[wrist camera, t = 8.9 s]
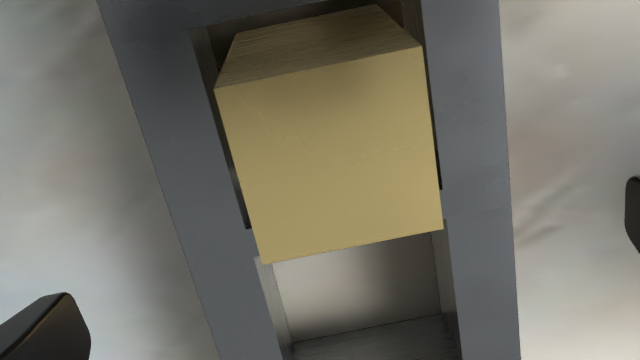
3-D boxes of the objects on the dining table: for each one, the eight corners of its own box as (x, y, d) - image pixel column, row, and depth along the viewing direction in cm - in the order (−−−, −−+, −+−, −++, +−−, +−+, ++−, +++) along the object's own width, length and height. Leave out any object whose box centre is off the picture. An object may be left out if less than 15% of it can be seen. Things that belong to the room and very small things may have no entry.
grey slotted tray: (428, -444, 14) (465, -536, 11) (495, 343, 24) (523, 398, 21) (17, -351, 14) (-48, -417, 11) (255, 389, 24) (252, 450, 21)
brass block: (394, 135, 20) (443, 228, 14) (268, 161, 20) (262, 264, 14) (375, 3, 18) (422, 45, 12) (236, 32, 18) (213, 89, 12)
